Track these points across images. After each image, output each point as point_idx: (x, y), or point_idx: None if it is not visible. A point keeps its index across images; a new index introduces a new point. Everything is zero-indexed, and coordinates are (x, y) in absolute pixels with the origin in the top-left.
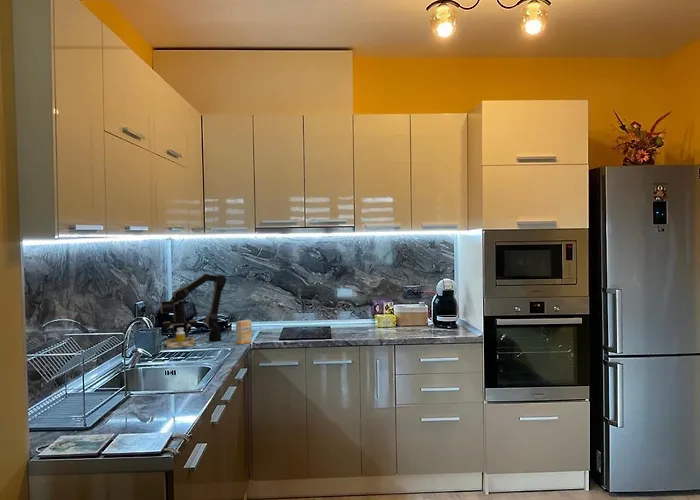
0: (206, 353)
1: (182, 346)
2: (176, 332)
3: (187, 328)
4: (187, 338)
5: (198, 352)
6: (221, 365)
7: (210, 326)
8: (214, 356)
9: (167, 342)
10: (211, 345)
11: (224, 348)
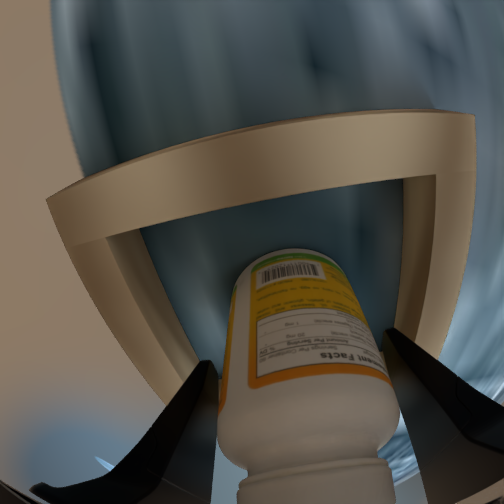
0: (407, 448)
1: None
2: (245, 469)
3: (429, 493)
4: (396, 176)
5: (386, 446)
6: (395, 481)
7: None
8: (413, 458)
9: (165, 396)
10: (493, 342)
11: (492, 389)
